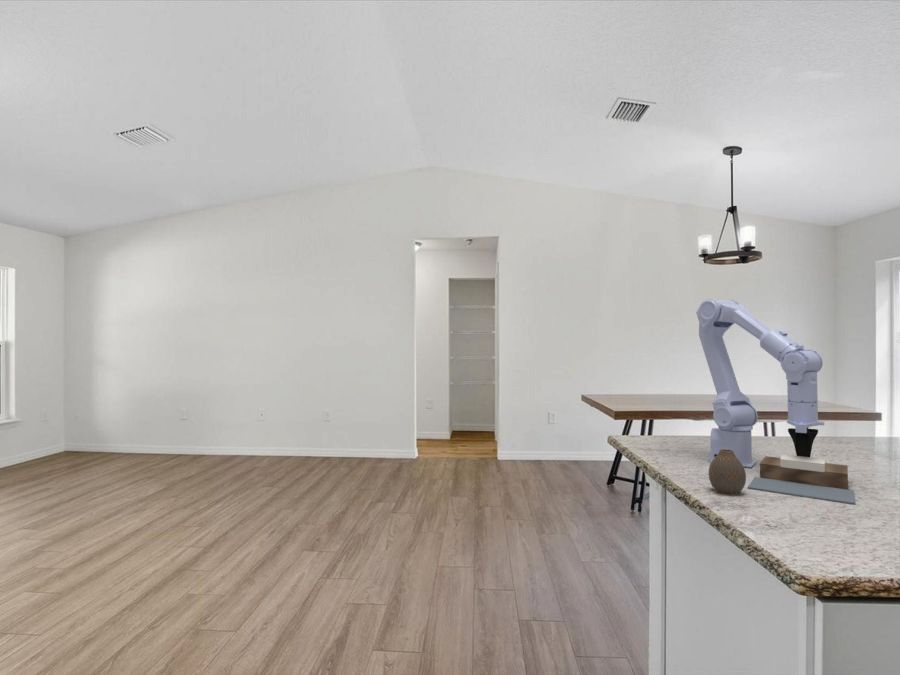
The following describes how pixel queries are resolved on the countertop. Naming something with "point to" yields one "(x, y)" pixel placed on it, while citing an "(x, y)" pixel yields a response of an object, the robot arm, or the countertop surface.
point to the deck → (805, 474)
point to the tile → (802, 463)
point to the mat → (803, 490)
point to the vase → (727, 473)
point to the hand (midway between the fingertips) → (803, 460)
